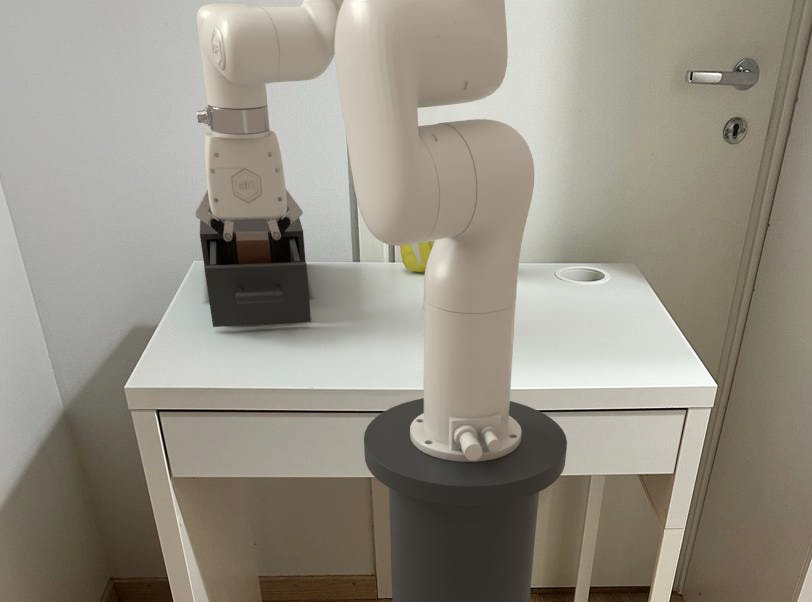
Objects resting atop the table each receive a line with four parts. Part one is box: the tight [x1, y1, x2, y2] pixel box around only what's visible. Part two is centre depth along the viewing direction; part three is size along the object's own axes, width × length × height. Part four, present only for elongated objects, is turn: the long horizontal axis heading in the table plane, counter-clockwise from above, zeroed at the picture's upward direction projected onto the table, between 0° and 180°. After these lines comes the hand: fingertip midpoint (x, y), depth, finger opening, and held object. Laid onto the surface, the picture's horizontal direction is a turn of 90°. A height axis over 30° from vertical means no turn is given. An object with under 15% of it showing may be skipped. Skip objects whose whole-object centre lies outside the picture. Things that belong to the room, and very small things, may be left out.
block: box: [236, 231, 271, 265], centre depth 127 cm, size 4×4×4 cm
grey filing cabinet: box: [199, 206, 307, 267], centre depth 140 cm, size 18×15×10 cm
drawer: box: [203, 237, 312, 328], centre depth 128 cm, size 21×13×8 cm, turn 12°
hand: (255, 266), depth 128 cm, fingers closed on block, 4 cm apart
